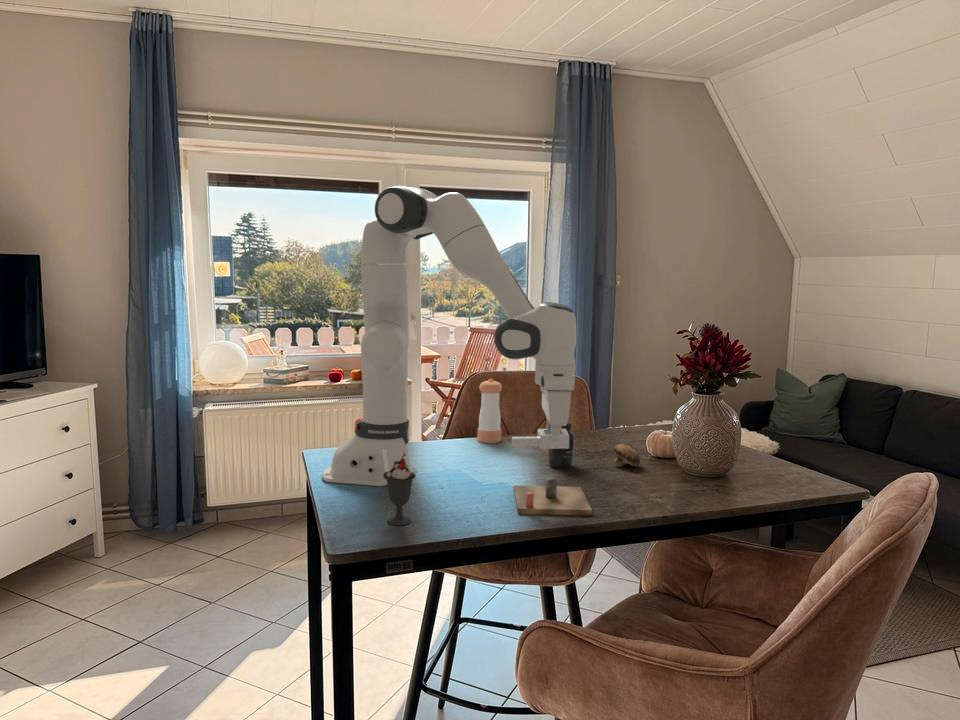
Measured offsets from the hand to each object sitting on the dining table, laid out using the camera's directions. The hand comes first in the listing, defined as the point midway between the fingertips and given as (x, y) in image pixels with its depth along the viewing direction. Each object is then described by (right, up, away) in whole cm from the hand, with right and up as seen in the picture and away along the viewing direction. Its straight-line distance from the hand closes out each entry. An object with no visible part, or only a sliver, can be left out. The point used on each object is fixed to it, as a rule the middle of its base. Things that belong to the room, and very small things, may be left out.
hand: (552, 437), depth 157 cm
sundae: (-33, -17, -12) cm, 39 cm away
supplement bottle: (+5, -12, +32) cm, 34 cm away
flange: (-3, -2, 0) cm, 3 cm away
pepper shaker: (-14, -8, +58) cm, 60 cm away
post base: (0, -15, +2) cm, 15 cm away
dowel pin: (-6, -15, -5) cm, 16 cm away
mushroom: (+23, -12, +33) cm, 42 cm away
